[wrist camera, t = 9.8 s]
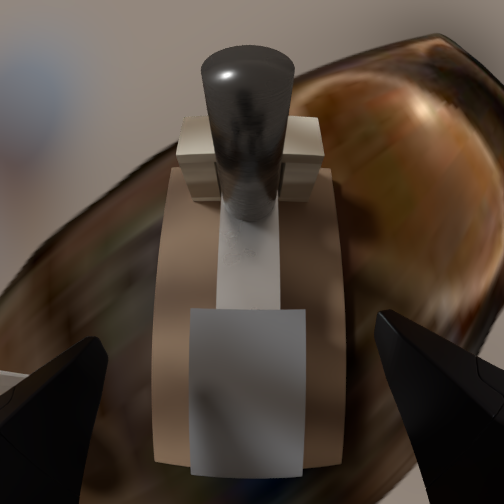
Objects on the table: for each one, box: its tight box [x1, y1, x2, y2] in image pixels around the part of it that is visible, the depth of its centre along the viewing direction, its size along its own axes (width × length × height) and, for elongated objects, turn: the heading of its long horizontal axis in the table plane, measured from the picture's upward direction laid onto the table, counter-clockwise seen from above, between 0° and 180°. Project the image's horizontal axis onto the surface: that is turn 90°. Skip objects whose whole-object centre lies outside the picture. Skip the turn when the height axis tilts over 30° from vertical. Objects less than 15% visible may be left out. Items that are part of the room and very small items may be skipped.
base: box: [152, 116, 346, 478], centre depth 15 cm, size 21×12×6 cm, turn 0°
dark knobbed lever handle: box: [201, 45, 295, 310], centre depth 11 cm, size 15×3×11 cm, turn 0°
